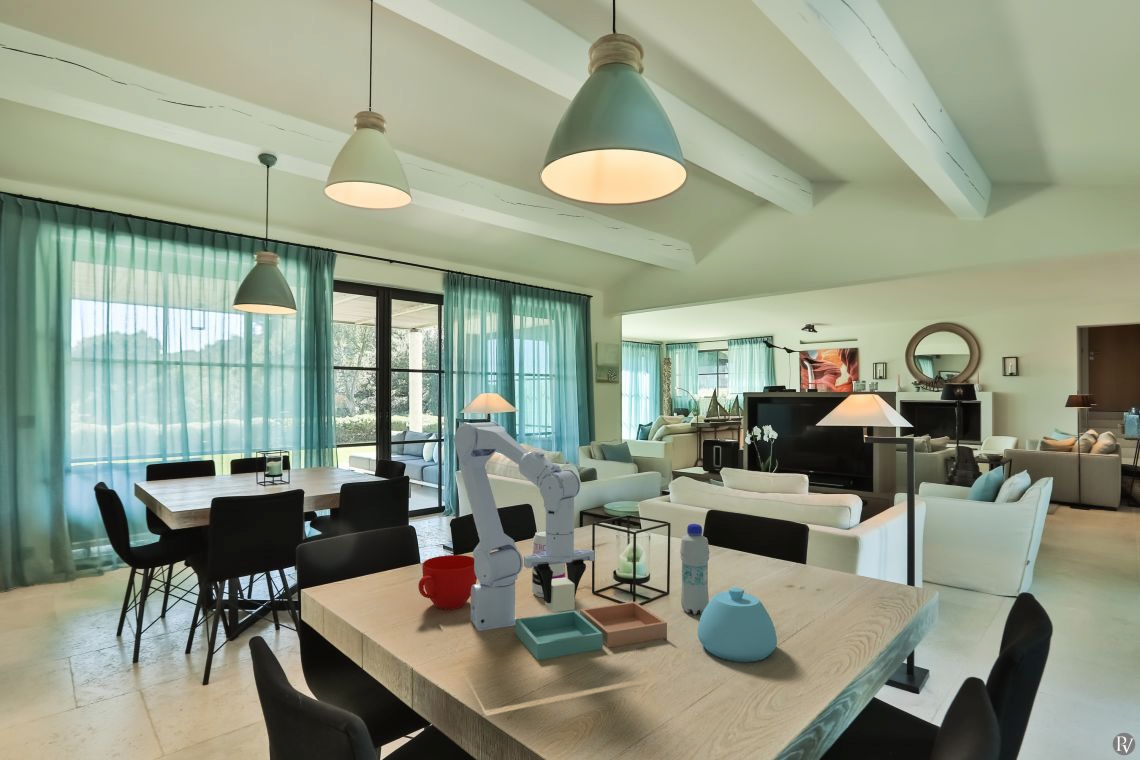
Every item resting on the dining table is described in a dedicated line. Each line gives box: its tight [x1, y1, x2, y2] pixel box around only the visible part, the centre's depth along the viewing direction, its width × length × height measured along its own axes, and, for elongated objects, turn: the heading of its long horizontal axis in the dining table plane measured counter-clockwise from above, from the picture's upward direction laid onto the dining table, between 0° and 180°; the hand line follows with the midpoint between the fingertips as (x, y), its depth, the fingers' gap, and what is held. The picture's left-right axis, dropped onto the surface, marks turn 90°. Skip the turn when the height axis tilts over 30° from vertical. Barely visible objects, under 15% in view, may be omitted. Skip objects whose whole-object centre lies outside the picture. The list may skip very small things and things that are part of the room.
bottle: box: [679, 523, 710, 615], centre depth 137 cm, size 7×7×20 cm
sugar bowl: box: [697, 586, 778, 663], centre depth 117 cm, size 15×15×12 cm
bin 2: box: [579, 601, 668, 649], centre depth 124 cm, size 13×13×4 cm
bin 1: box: [515, 609, 604, 661], centre depth 118 cm, size 13×13×4 cm
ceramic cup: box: [418, 554, 478, 610], centre depth 138 cm, size 13×17×10 cm
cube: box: [544, 576, 576, 613], centre depth 118 cm, size 4×4×5 cm
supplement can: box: [531, 529, 566, 599], centre depth 148 cm, size 8×8×15 cm
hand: (559, 600), depth 118 cm, fingers closed on cube, 4 cm apart
